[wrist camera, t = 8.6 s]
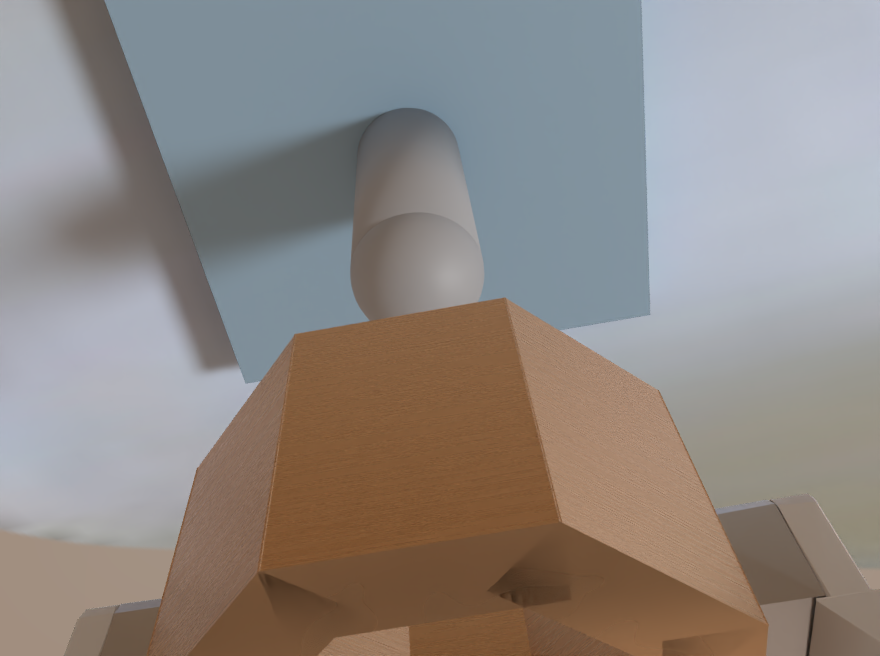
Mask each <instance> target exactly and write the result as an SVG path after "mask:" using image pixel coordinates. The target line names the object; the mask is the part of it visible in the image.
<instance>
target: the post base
mask: <svg viewBox="0 0 880 656" xmlns="http://www.w3.org/2000/svg"><path fill="white" fill-rule="evenodd" d="M104 1H105V4H106V6H107V9H108V12H109V14H110V17H111V20H112V23H113V25H114V28H115V31H116V33H117V36H118V39H119V42H120V44H121V47H122V50H123V52H124V55H125V58H126V61H127V63H128V66H129V69H130V71H131V74H132V77H133V80H134V82H135V85H136V88H137V90H138V93H139V96H140V98H141V101H142V104H143V107H144V109H145V112H146V115H147V117H148V120H149V123H150V126H151V128H152V131H153V134H154V136H155V139H156V142H157V145H158V147H159V150H160V153H161V155H162V158H163V161H164V164H165V166H166V169H167V172H168V174H169V177H170V180H171V183H172V185H173V188H174V191H175V193H176V196H177V199H178V202H179V204H180V207H181V210H182V212H183V215H184V218H185V220H186V223H187V226H188V229H189V231H190V234H191V237H192V239H193V242H194V245H195V248H196V250H197V253H198V256H199V258H200V261H201V264H202V267H203V269H204V272H205V275H206V277H207V280H208V283H209V286H210V288H211V291H212V294H213V296H214V299H215V302H216V305H217V307H218V310H219V313H220V315H221V318H222V321H223V324H224V326H225V329H226V332H227V334H228V337H229V340H230V342H231V345H232V348H233V351H234V353H235V356H236V359H237V361H238V364H239V367H240V370H241V372H242V375H243V378H244V380H245V383H252V382H258V381H261V380H262V379H263V378H264V376H265V375H266V373H267V372H268V371H269V369H270V368H271V367H272V365H273V364H274V362H275V361H276V360H277V358H278V357H279V356H280V354H281V353H282V351H283V350H284V349H285V347H286V346H287V345H288V343H289V342H290V340H291V339H292V338H293V336H294V334H298V333H304V332H309V331H315V330H321V329H327V328H332V327H338V326H344V325H350V324H355V323H361V322H367V321H372V320H378V319H384V318H390V317H395V316H401V315H407V314H413V313H418V312H424V311H430V310H436V309H441V308H447V307H453V306H459V305H464V304H470V303H476V302H482V301H487V300H493V299H499V298H504V297H506V298H507V299H508V300H510V301H511V302H513V303H515V304H516V305H518V306H520V307H521V308H523V309H525V310H526V311H528V312H530V313H531V314H533V315H535V316H536V317H538V318H540V319H541V320H543V321H544V322H546V323H548V324H549V325H551V326H553V327H554V328H556V329H558V330H564V329H569V328H575V327H581V326H587V325H593V324H599V323H605V322H611V321H617V320H622V319H628V318H634V317H640V316H646V315H650V293H649V257H648V221H647V186H646V150H645V115H644V79H643V44H642V8H641V0H104Z"/></svg>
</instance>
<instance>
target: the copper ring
mask: <svg viewBox="0 0 880 656" xmlns="http://www.w3.org/2000/svg"><path fill="white" fill-rule="evenodd" d="M768 626H769V624H768V622H767V620H766V618H765V616H764V614H763V611H762V609H761V607H760V605H759V603H758V601H757V599H756V596H755V594H754V592H753V590H752V588H751V586H750V584H749V582H748V579H747V577H746V575H745V573H744V571H743V569H742V567H741V564H740V562H739V560H738V558H737V556H736V554H735V552H734V550H733V547H732V545H731V543H730V541H729V539H728V537H727V535H726V532H725V530H724V528H723V526H722V524H721V522H720V520H719V518H718V515H717V513H716V511H715V509H714V507H713V505H712V503H711V500H710V498H709V496H708V494H707V492H706V490H705V488H704V486H703V483H702V481H701V479H700V477H699V475H698V473H697V471H696V468H695V466H694V464H693V462H692V460H691V458H690V456H689V454H688V451H687V449H686V447H685V445H684V443H683V441H682V439H681V436H680V434H679V432H678V430H677V428H676V426H675V424H674V422H673V419H672V417H671V415H670V413H669V411H668V409H667V407H666V404H665V402H664V400H663V398H662V396H661V394H660V392H659V390H657V389H655V388H653V387H652V386H650V385H648V384H647V383H645V382H644V381H642V380H640V379H639V378H637V377H635V376H634V375H632V374H630V373H629V372H627V371H625V370H624V369H622V368H620V367H619V366H617V365H615V364H614V363H612V362H611V361H609V360H607V359H606V358H604V357H602V356H601V355H599V354H597V353H596V352H594V351H592V350H591V349H589V348H587V347H586V346H584V345H582V344H581V343H579V342H577V341H576V340H574V339H573V338H571V337H569V336H568V335H566V334H564V333H563V332H561V331H559V330H558V329H556V328H554V327H553V326H551V325H549V324H548V323H546V322H544V321H543V320H541V319H540V318H538V317H536V316H535V315H533V314H531V313H530V312H528V311H526V310H525V309H523V308H521V307H520V306H518V305H516V304H515V303H513V302H511V301H510V300H508V299H507V298H506V297H504V298H499V299H493V300H487V301H482V302H476V303H470V304H464V305H459V306H453V307H447V308H441V309H436V310H430V311H424V312H418V313H413V314H407V315H401V316H395V317H390V318H384V319H378V320H372V321H367V322H361V323H355V324H350V325H344V326H338V327H332V328H327V329H321V330H315V331H309V332H304V333H298V334H294V336H293V338H292V339H291V340H290V342H289V343H288V345H287V346H286V347H285V349H284V350H283V351H282V353H281V354H280V356H279V357H278V358H277V360H276V361H275V362H274V364H273V365H272V367H271V368H270V369H269V371H268V372H267V373H266V375H265V376H264V378H263V379H262V380H261V382H260V383H259V384H258V386H257V387H256V389H255V390H254V391H253V393H252V394H251V395H250V397H249V398H248V400H247V401H246V402H245V404H244V405H243V406H242V408H241V409H240V411H239V412H238V413H237V415H236V416H235V417H234V419H233V420H232V422H231V423H230V424H229V426H228V427H227V428H226V430H225V431H224V433H223V434H222V435H221V437H220V438H219V439H218V441H217V442H216V444H215V445H214V446H213V448H212V449H211V450H210V452H209V453H208V455H207V456H206V457H205V459H204V460H203V461H202V463H201V464H200V466H199V467H198V468H197V470H196V474H195V478H194V482H193V485H192V489H191V493H190V496H189V500H188V504H187V507H186V511H185V515H184V519H183V522H182V526H181V530H180V533H179V537H178V541H177V545H176V548H175V552H174V556H173V559H172V563H171V567H170V571H169V574H168V578H167V582H166V586H165V589H164V593H163V596H162V600H161V604H160V608H159V611H158V615H157V619H156V622H155V626H154V630H153V634H152V637H151V641H150V645H149V648H148V652H147V656H766V649H767V637H768Z"/></svg>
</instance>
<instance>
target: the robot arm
mask: <svg viewBox="0 0 880 656" xmlns="http://www.w3.org/2000/svg"><path fill="white" fill-rule="evenodd" d="M715 511H716V513H717V515H718V518H719V520H720V522H721V524H722V526H723V528H724V530H725V532H726V535H727V537H728V539H729V541H730V543H731V545H732V547H733V550H734V552H735V554H736V556H737V558H738V560H739V562H740V564H741V567H742V569H743V571H744V573H745V575H746V577H747V579H748V582H749V584H750V586H751V588H752V590H753V592H754V594H755V596H756V599H757V601H758V603H759V605H760V607H761V609H762V611H763V614H764V616H765V618H766V620H767V622H768V624H769V626H768V637H767V649H766V656H880V589H875V590H872V589H871V588H870V586H869V584H868V583H867V581H866V580H865V578H864V577H863V575H862V573H861V572H860V570H859V569H858V567H857V565H856V564H855V562H854V561H853V559H852V557H851V556H850V554H849V553H848V551H847V549H846V548H845V546H844V545H843V543H842V541H841V540H840V538H839V537H838V535H837V533H836V532H835V530H834V529H833V527H832V525H831V524H830V522H829V521H828V519H827V517H826V516H825V514H824V513H823V511H822V509H821V508H820V506H819V505H818V503H817V501H816V500H815V498H813V497H812V496H810V495H809V494H802V495H796V496H790V497H784V498H778V499H772V500H770V501H768V500H763V501H758V502H752V503H746V504H740V505H735V506H729V507H723V508H717V509H715ZM161 600H162V599H157V600H149V601H141V602H135V603H127V604H121V605H115V606H108V607H102V608H94V609H87V610H86V611H85V612H84V613H83V614H82V615H81V616H80V617H79V619H78V620H77V622H76V625H75V627H74V630H73V633H72V635H71V638H70V641H69V644H68V646H67V649H66V652H65V654H64V656H147V652H148V648H149V645H150V641H151V637H152V634H153V630H154V626H155V622H156V619H157V615H158V611H159V608H160V604H161Z"/></svg>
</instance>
